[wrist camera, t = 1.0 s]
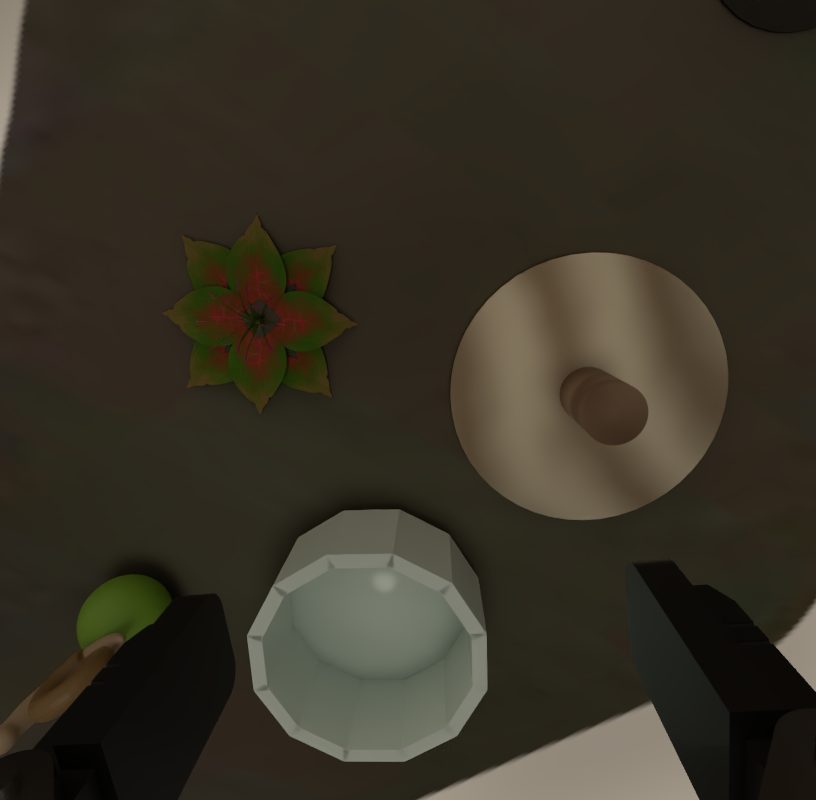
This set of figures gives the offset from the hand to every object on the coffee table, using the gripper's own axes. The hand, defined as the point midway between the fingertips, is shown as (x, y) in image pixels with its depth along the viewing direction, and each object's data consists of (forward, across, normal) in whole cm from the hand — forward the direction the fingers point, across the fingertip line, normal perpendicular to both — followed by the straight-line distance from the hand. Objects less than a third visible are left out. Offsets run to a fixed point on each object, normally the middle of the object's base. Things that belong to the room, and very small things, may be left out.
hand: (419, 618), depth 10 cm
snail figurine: (+22, +21, +12) cm, 33 cm away
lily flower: (+23, +10, -5) cm, 26 cm away
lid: (+23, -9, +2) cm, 25 cm away
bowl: (+22, +5, +14) cm, 27 cm away
